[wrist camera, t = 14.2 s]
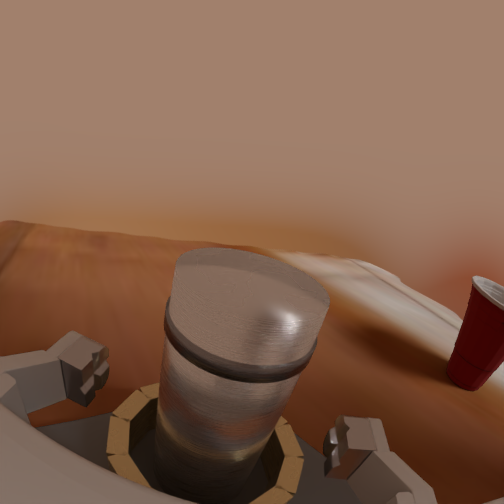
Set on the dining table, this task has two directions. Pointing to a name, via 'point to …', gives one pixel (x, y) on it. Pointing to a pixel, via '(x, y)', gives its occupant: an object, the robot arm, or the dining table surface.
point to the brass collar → (144, 419)
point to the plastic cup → (479, 336)
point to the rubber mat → (94, 449)
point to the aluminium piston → (229, 366)
